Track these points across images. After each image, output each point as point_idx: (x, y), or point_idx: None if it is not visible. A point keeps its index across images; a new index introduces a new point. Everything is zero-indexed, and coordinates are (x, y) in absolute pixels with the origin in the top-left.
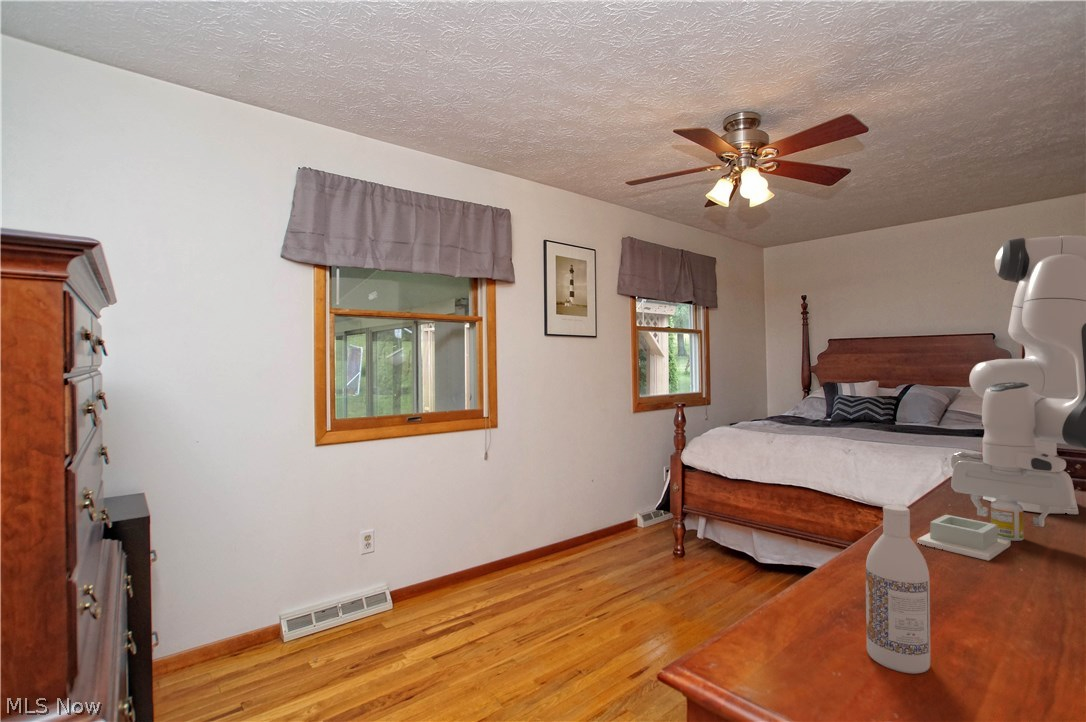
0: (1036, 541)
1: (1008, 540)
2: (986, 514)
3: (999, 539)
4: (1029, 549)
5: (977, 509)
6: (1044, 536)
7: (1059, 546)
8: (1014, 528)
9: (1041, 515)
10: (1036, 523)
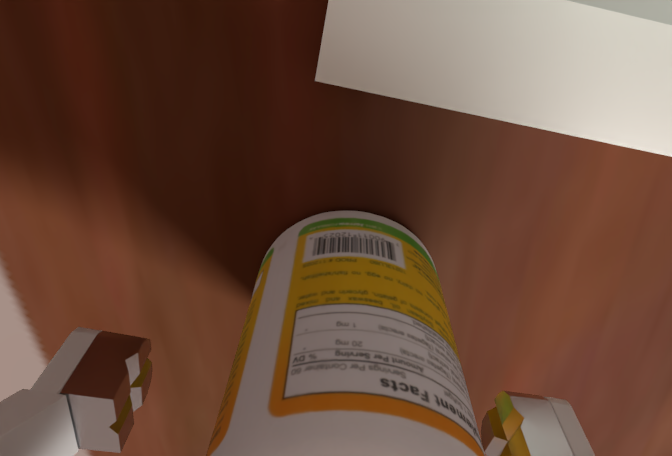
0: (200, 295)
1: (330, 75)
2: (493, 422)
3: (398, 56)
4: (191, 53)
5: (588, 444)
6: (191, 401)
7: (83, 269)
8: (291, 278)
9: (9, 418)
10: (112, 342)
